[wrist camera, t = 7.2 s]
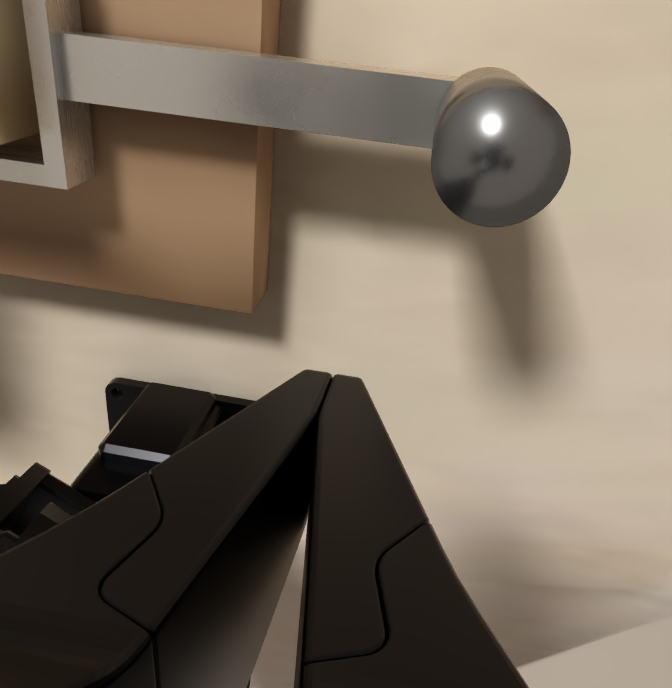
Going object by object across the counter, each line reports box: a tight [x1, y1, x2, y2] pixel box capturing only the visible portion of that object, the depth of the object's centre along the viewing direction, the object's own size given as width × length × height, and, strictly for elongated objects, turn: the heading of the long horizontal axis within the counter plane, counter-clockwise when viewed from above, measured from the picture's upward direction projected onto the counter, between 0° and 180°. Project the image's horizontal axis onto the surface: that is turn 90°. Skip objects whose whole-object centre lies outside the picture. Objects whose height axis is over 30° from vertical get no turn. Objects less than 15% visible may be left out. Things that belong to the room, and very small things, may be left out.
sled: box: [0, 0, 571, 227], centre depth 14 cm, size 6×18×6 cm, turn 84°
